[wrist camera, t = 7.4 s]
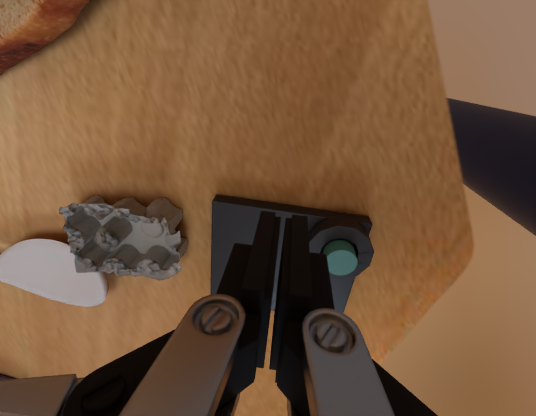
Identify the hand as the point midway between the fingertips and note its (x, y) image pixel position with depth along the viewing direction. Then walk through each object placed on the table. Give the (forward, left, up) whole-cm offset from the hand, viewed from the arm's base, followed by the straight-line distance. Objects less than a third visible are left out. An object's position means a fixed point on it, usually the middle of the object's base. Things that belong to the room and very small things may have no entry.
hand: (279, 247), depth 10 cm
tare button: (-5, +8, -12) cm, 15 cm away
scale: (-1, +11, -14) cm, 18 cm away
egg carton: (+14, +10, -14) cm, 23 cm away
